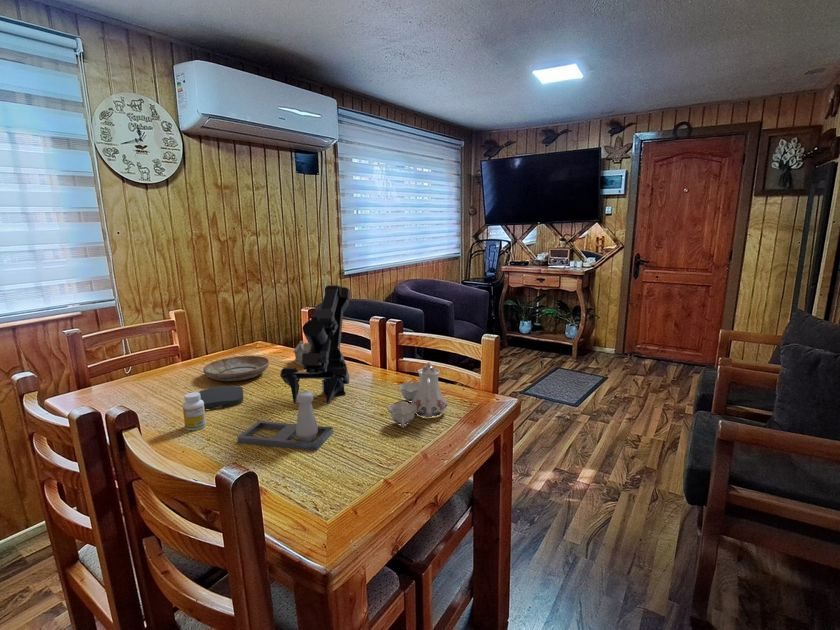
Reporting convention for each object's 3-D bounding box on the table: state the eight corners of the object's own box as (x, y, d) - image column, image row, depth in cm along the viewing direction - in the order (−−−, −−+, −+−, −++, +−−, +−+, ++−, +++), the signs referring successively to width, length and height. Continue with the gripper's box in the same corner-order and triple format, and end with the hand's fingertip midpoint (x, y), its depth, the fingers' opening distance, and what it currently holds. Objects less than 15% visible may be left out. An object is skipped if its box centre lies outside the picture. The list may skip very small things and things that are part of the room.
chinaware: (397, 400, 151) (391, 352, 148) (447, 395, 150) (442, 347, 147) (388, 438, 123) (381, 381, 120) (449, 433, 122) (443, 375, 119)
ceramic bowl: (247, 363, 188) (246, 352, 187) (282, 373, 174) (281, 361, 173) (192, 378, 170) (190, 366, 169) (227, 391, 156) (226, 377, 155)
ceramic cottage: (344, 360, 190) (340, 325, 188) (312, 371, 178) (307, 334, 176) (322, 355, 201) (318, 323, 198) (290, 365, 189) (285, 331, 186)
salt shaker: (317, 443, 118) (315, 396, 115) (295, 444, 117) (292, 397, 114) (319, 433, 123) (316, 388, 121) (297, 434, 122) (294, 389, 120)
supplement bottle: (190, 423, 130) (186, 391, 129) (209, 422, 131) (205, 390, 129) (182, 431, 125) (178, 398, 123) (202, 430, 126) (198, 397, 124)
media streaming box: (197, 396, 152) (196, 388, 151) (243, 391, 157) (242, 382, 156) (192, 413, 138) (191, 404, 138) (243, 406, 143) (242, 397, 143)
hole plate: (237, 442, 118) (237, 437, 118) (259, 425, 128) (259, 420, 128) (316, 450, 114) (316, 445, 113) (332, 432, 124) (332, 427, 123)
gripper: (279, 340, 126) (268, 392, 117) (345, 340, 125) (339, 392, 117) (290, 358, 135) (280, 407, 127) (352, 358, 135) (346, 408, 126)
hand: (311, 403), depth 124 cm, fingers open, 9 cm apart
